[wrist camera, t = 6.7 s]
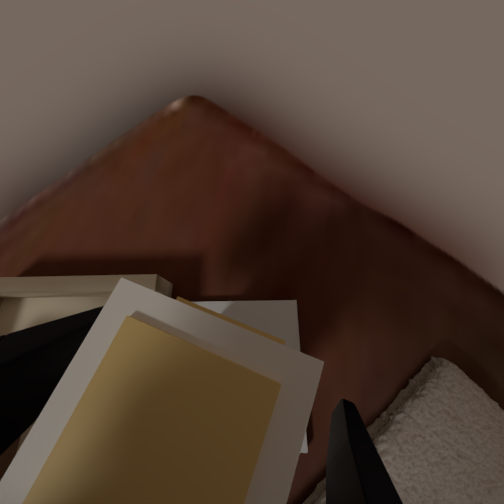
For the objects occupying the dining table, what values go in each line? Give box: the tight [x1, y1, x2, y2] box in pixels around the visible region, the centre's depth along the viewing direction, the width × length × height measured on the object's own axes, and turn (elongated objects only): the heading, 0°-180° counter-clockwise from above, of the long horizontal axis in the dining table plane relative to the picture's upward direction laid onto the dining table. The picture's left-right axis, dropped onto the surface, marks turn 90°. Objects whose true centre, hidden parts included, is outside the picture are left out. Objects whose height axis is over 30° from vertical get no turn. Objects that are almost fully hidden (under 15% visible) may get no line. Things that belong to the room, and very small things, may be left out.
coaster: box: [193, 300, 308, 453], centre depth 16 cm, size 9×9×1 cm
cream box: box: [0, 277, 324, 504], centre depth 10 cm, size 5×5×12 cm
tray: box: [0, 274, 173, 454], centre depth 15 cm, size 14×14×3 cm
